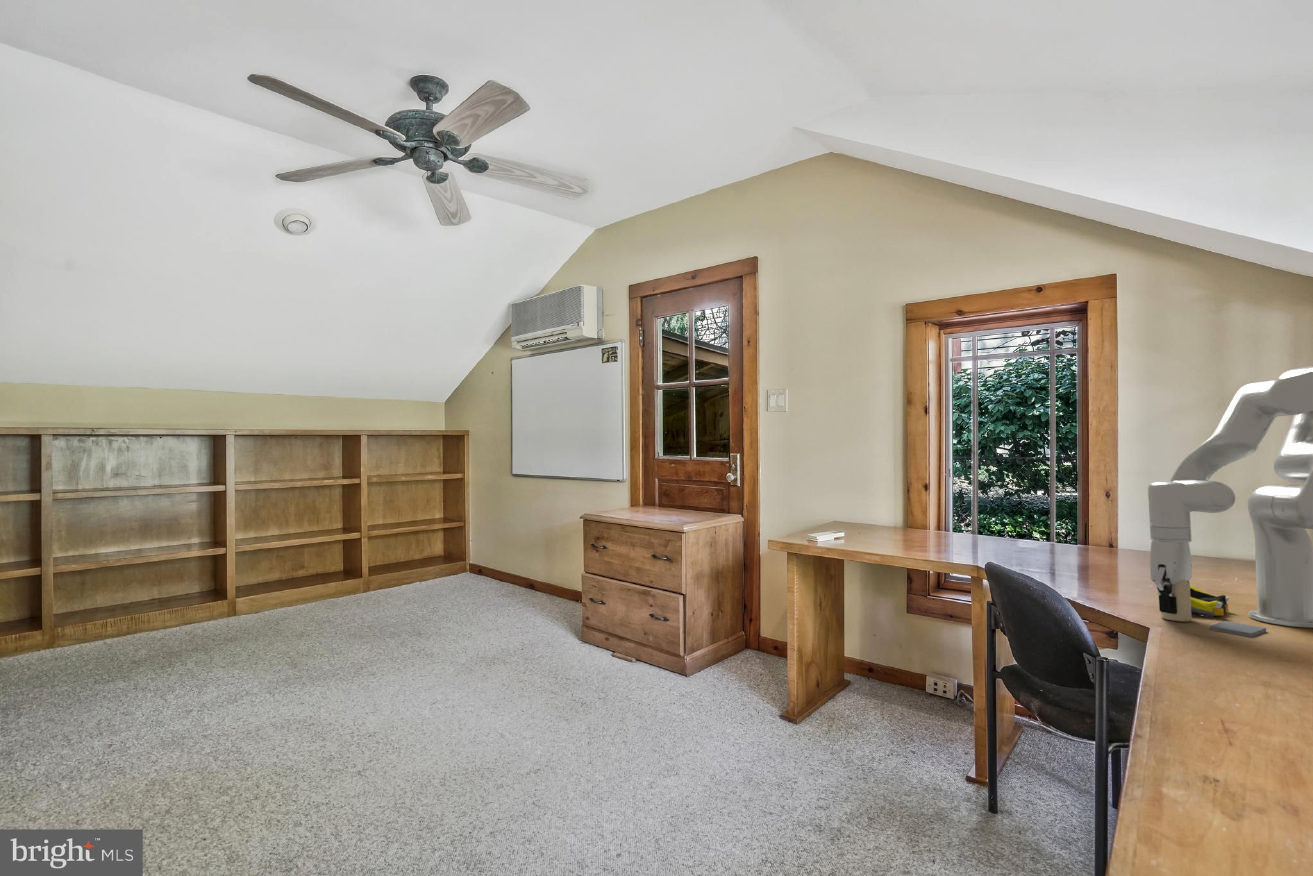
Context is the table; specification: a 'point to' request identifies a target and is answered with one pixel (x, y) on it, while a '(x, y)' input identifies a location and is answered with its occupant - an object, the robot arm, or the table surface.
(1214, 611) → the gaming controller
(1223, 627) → the grey flat block
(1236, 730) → the table surface
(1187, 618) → the candle
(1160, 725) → the table surface
